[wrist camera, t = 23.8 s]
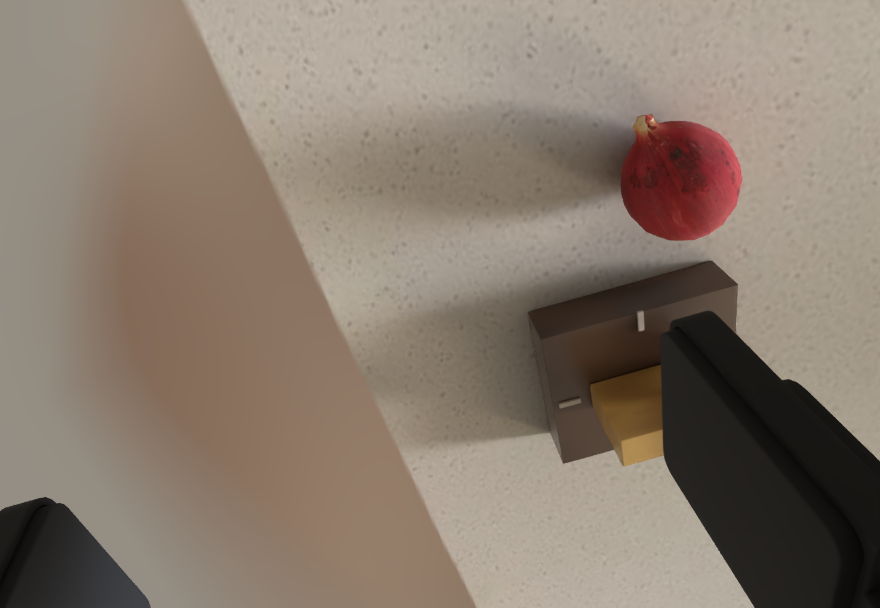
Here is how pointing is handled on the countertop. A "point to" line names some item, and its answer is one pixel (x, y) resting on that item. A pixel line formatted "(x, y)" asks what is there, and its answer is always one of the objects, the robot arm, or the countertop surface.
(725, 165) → the onion
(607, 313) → the tap deck
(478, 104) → the countertop surface
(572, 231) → the countertop surface
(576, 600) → the countertop surface
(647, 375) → the tap handle
